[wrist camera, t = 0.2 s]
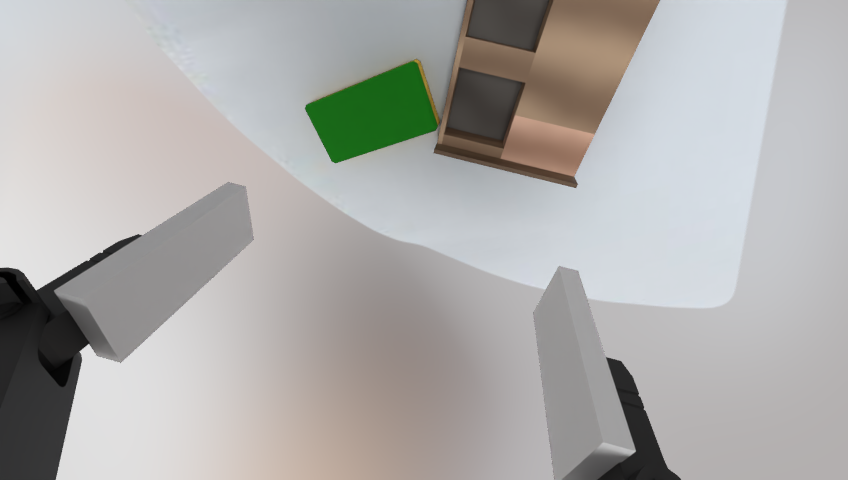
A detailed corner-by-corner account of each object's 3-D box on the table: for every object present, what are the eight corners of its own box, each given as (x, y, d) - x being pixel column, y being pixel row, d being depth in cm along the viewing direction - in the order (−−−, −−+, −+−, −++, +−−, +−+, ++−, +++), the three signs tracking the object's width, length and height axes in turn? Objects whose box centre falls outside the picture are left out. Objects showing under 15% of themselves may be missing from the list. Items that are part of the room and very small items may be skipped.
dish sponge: (312, 101, 39) (302, 106, 37) (419, 57, 35) (415, 59, 33) (340, 157, 43) (332, 164, 41) (441, 124, 38) (438, 129, 36)
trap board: (512, -197, 24) (515, -241, 20) (719, -155, 23) (766, -192, 19) (440, 138, 38) (433, 152, 34) (567, 169, 38) (575, 187, 34)
